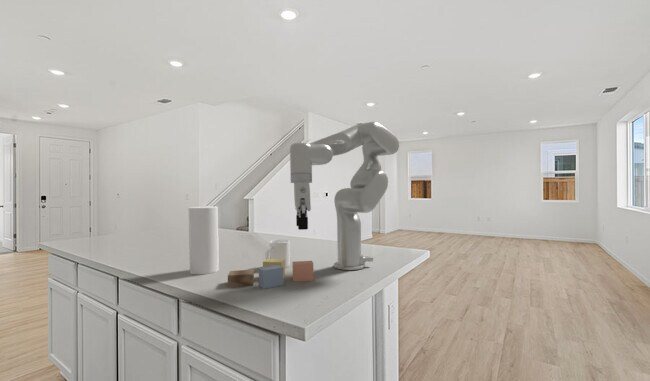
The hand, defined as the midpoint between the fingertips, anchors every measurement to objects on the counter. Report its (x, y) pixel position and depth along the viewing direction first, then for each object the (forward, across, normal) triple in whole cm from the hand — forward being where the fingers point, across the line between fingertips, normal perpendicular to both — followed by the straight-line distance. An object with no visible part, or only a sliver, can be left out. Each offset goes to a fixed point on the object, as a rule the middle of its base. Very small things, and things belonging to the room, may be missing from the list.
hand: (301, 227), depth 114 cm
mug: (+18, +19, +9) cm, 28 cm away
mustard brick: (+18, +5, +10) cm, 21 cm away
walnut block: (+18, -1, +21) cm, 28 cm away
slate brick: (+18, -5, +11) cm, 22 cm away
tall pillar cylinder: (+18, +19, +37) cm, 45 cm away
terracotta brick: (+18, 0, 0) cm, 18 cm away
